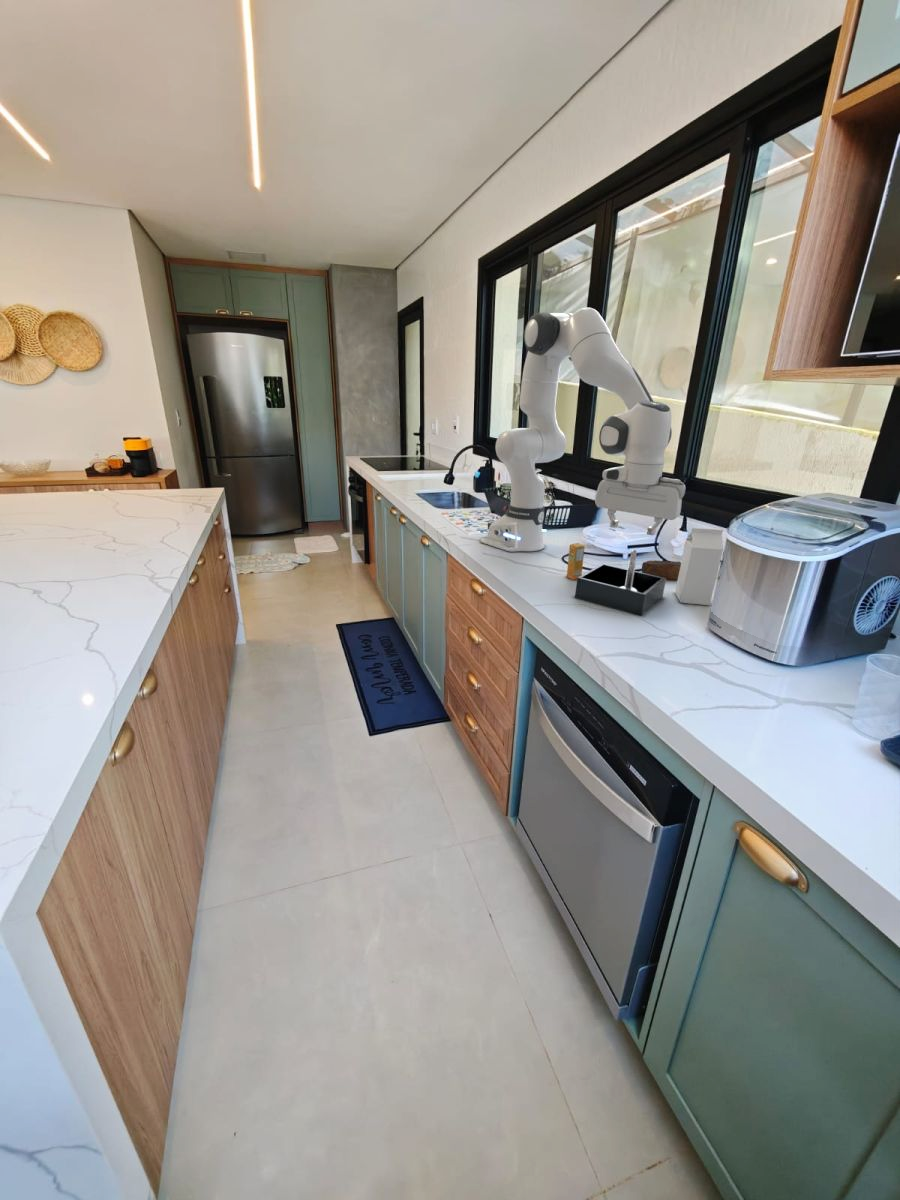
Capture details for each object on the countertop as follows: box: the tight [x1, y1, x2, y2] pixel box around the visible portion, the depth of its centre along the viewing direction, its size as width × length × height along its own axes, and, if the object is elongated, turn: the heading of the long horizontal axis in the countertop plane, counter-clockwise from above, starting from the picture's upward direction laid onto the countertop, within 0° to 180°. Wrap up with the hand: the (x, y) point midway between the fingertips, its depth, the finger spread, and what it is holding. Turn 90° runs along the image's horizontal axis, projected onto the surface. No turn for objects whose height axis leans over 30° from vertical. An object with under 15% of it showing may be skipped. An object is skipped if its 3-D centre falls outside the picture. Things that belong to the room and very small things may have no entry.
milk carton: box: [674, 527, 724, 606], centre depth 129 cm, size 7×7×19 cm
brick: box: [641, 560, 681, 581], centre depth 147 cm, size 11×4×5 cm, turn 80°
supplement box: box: [566, 542, 586, 581], centre depth 144 cm, size 3×4×10 cm
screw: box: [621, 549, 638, 592], centre depth 128 cm, size 13×5×5 cm
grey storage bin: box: [574, 563, 667, 617], centre depth 131 cm, size 18×16×6 cm
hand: (631, 530), depth 126 cm, fingers open, 8 cm apart
